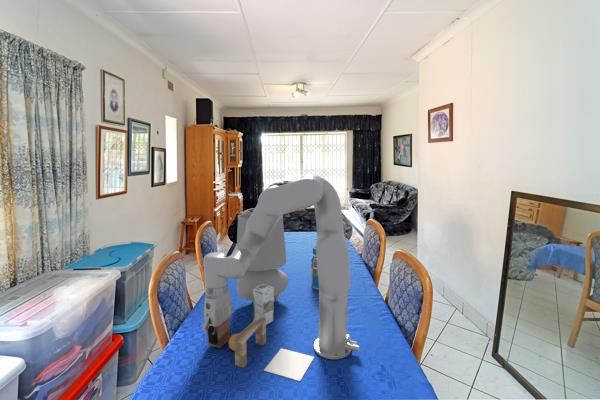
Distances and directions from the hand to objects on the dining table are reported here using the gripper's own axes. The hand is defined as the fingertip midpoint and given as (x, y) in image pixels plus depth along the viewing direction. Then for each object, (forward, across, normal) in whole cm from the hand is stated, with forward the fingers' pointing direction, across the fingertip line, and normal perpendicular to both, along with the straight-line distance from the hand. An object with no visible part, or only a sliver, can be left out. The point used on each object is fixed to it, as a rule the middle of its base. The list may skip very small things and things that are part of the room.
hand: (219, 337), depth 112 cm
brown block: (+2, 0, 0) cm, 2 cm away
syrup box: (+3, +19, -7) cm, 20 cm away
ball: (0, 0, -8) cm, 8 cm away
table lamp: (+3, +33, +1) cm, 33 cm away
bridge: (+2, 0, -13) cm, 13 cm away
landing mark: (+3, 0, -27) cm, 27 cm away
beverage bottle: (+3, +59, -16) cm, 61 cm away
